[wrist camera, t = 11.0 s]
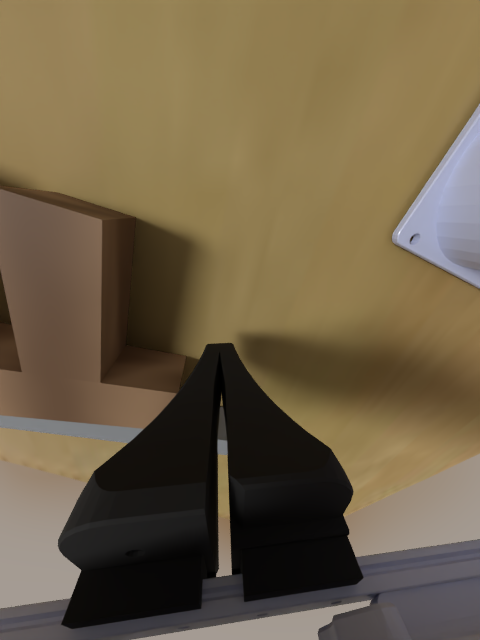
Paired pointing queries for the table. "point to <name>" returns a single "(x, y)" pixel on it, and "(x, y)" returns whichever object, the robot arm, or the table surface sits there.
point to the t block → (74, 316)
